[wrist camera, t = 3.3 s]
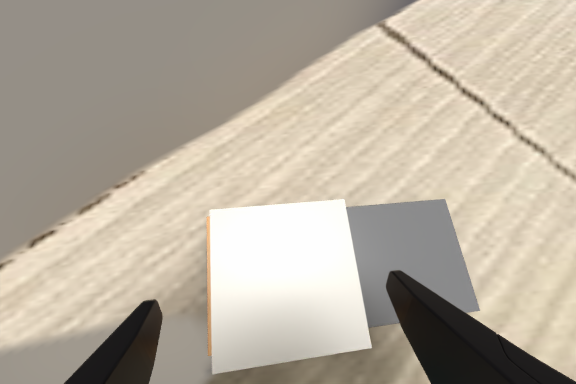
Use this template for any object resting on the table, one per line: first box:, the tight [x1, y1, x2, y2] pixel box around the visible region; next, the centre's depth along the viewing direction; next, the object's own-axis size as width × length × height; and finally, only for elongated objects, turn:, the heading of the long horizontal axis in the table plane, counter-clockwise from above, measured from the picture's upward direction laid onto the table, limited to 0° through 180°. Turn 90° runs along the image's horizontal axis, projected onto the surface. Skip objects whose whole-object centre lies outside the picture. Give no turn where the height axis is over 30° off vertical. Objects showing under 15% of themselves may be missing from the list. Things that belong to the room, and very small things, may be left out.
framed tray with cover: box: [207, 199, 480, 356], centre depth 17 cm, size 18×8×4 cm, turn 96°
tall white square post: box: [210, 199, 372, 374], centre depth 11 cm, size 5×5×10 cm
